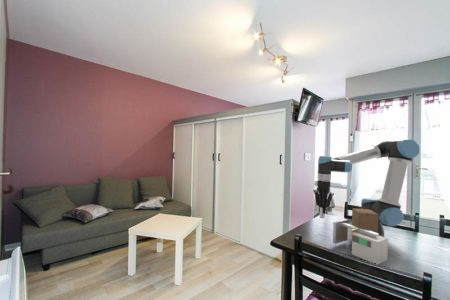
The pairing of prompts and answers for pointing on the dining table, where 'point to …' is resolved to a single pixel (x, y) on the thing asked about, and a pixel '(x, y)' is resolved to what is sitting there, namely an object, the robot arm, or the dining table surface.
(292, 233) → the dining table surface
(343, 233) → the gauge plunger
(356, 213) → the wooden block
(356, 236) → the white box
